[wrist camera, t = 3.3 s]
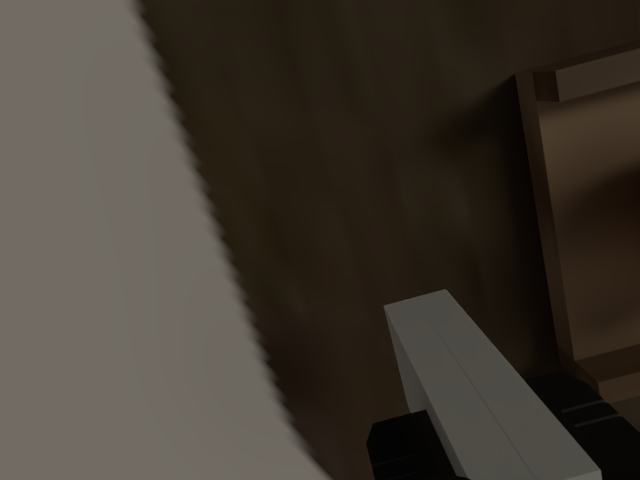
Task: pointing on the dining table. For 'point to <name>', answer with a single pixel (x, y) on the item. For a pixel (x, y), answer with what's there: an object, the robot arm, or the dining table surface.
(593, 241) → the lane
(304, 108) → the dining table surface
